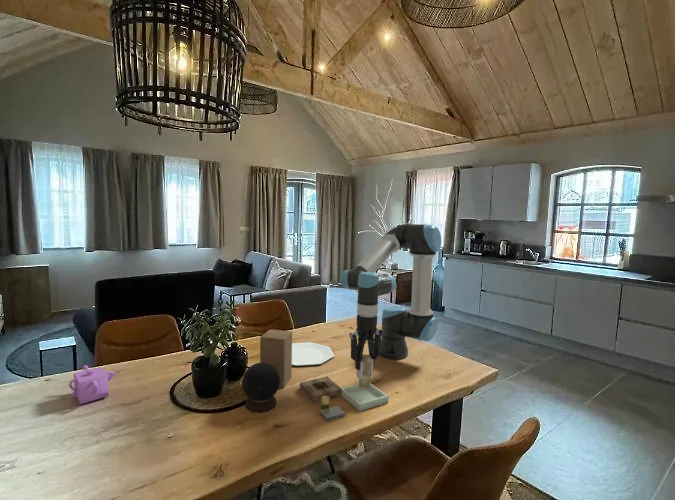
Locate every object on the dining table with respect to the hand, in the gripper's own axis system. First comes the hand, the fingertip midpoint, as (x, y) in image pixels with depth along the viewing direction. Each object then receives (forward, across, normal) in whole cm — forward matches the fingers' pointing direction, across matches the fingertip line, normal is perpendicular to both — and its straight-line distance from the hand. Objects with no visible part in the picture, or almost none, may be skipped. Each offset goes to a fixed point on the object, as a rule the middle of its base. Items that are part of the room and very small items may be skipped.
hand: (364, 376), depth 133 cm
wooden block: (+9, +24, -28) cm, 38 cm away
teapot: (+10, +87, -48) cm, 100 cm away
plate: (+9, +2, -48) cm, 49 cm away
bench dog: (+9, +16, -1) cm, 18 cm away
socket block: (+9, +12, -12) cm, 19 cm away
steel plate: (+9, +16, +4) cm, 19 cm away
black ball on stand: (+9, +35, -14) cm, 39 cm away
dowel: (+4, 0, 0) cm, 4 cm away
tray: (+9, 0, 0) cm, 9 cm away
